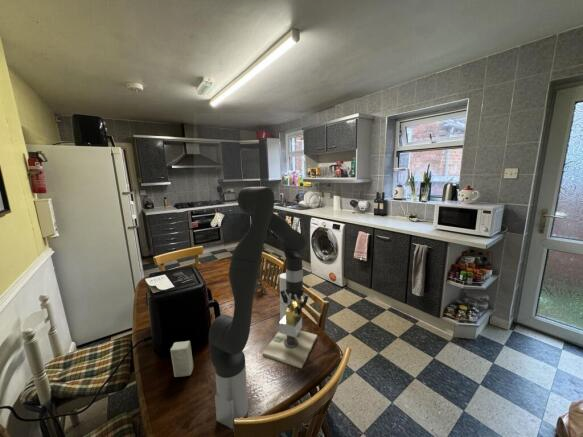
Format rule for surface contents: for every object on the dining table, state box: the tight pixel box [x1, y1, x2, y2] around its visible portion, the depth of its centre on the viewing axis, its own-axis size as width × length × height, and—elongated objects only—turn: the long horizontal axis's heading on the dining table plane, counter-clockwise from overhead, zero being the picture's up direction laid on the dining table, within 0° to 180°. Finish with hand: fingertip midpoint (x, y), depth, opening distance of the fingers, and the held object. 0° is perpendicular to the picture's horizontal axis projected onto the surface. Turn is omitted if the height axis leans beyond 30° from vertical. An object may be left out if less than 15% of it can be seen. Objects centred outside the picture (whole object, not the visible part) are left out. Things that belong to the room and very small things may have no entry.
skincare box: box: [169, 340, 194, 378], centre depth 91 cm, size 6×4×12 cm
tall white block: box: [278, 272, 295, 321], centre depth 123 cm, size 7×7×25 cm
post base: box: [262, 329, 318, 369], centre depth 105 cm, size 20×18×11 cm
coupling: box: [278, 300, 303, 337], centre depth 105 cm, size 11×8×10 cm
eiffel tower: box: [254, 268, 268, 298], centre depth 153 cm, size 11×11×25 cm
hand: (294, 312), depth 107 cm, fingers open, 3 cm apart
